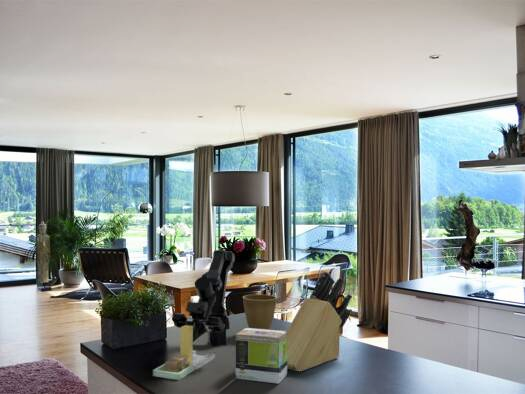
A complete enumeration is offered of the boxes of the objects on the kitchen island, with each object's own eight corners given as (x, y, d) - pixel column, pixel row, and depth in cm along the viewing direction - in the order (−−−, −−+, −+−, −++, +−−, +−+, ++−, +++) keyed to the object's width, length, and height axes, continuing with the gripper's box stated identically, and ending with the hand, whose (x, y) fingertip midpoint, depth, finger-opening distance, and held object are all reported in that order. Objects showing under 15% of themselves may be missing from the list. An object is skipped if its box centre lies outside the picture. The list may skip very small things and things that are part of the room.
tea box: (287, 374, 167) (288, 330, 167) (278, 385, 157) (279, 337, 157) (245, 369, 172) (246, 326, 172) (234, 379, 162) (234, 333, 162)
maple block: (177, 366, 170) (177, 354, 170) (188, 368, 168) (188, 356, 168) (171, 370, 166) (171, 358, 166) (182, 371, 165) (182, 359, 165)
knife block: (354, 353, 192) (355, 272, 192) (295, 375, 166) (296, 282, 166) (330, 347, 199) (330, 269, 200) (270, 367, 174) (271, 278, 174)
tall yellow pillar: (182, 362, 173) (182, 324, 174) (194, 364, 172) (195, 326, 172) (176, 365, 170) (177, 327, 170) (189, 367, 168) (189, 328, 168)
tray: (168, 370, 170) (168, 361, 170) (193, 374, 166) (193, 365, 166) (152, 379, 161) (152, 370, 161) (178, 383, 157) (178, 374, 157)
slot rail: (190, 357, 184) (190, 349, 184) (215, 360, 180) (215, 353, 180) (168, 370, 170) (168, 362, 170) (194, 374, 166) (194, 366, 166)
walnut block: (171, 370, 166) (171, 358, 166) (182, 372, 165) (182, 359, 165) (164, 374, 162) (165, 361, 162) (175, 375, 161) (175, 363, 161)
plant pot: (276, 338, 211) (277, 300, 211) (241, 337, 211) (241, 299, 211) (276, 329, 226) (276, 294, 226) (243, 329, 226) (243, 293, 226)
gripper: (174, 290, 181) (157, 328, 171) (221, 294, 175) (206, 333, 164) (185, 308, 189) (169, 345, 178) (230, 312, 182) (216, 351, 171)
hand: (189, 343), depth 173 cm, fingers closed, pressing on tall yellow pillar
